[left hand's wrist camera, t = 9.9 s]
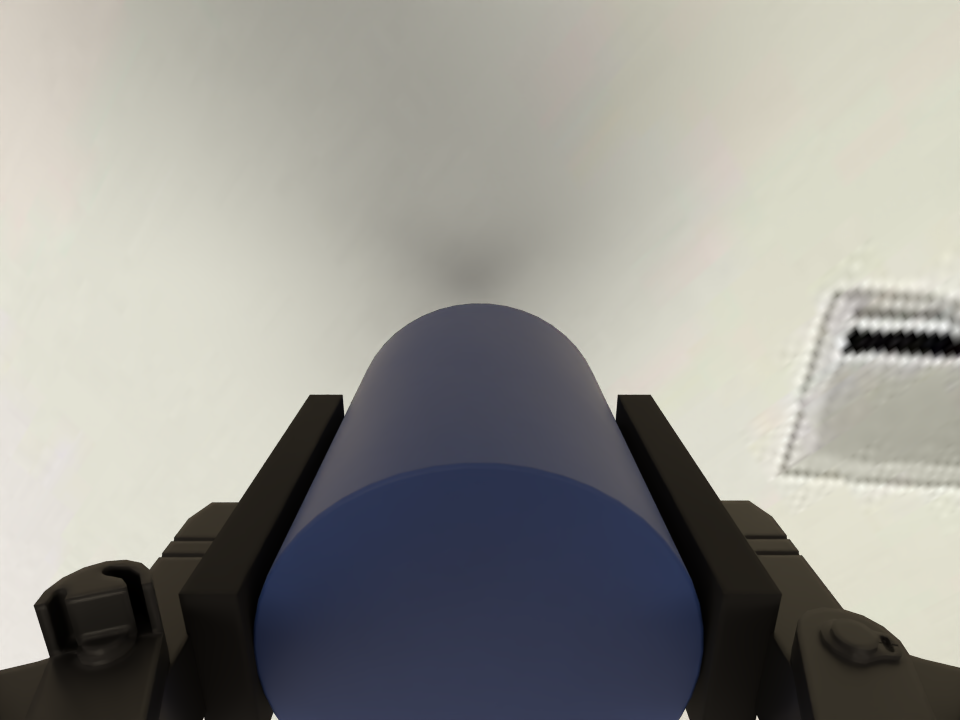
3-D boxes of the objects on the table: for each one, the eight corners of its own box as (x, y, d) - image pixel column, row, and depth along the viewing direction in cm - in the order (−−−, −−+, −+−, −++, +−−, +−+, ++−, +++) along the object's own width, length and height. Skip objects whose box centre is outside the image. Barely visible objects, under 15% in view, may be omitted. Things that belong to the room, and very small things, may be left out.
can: (306, 408, 16) (156, 644, 8) (493, 248, 14) (508, 365, 7) (467, 562, 17) (458, 870, 10) (649, 432, 16) (792, 682, 9)
